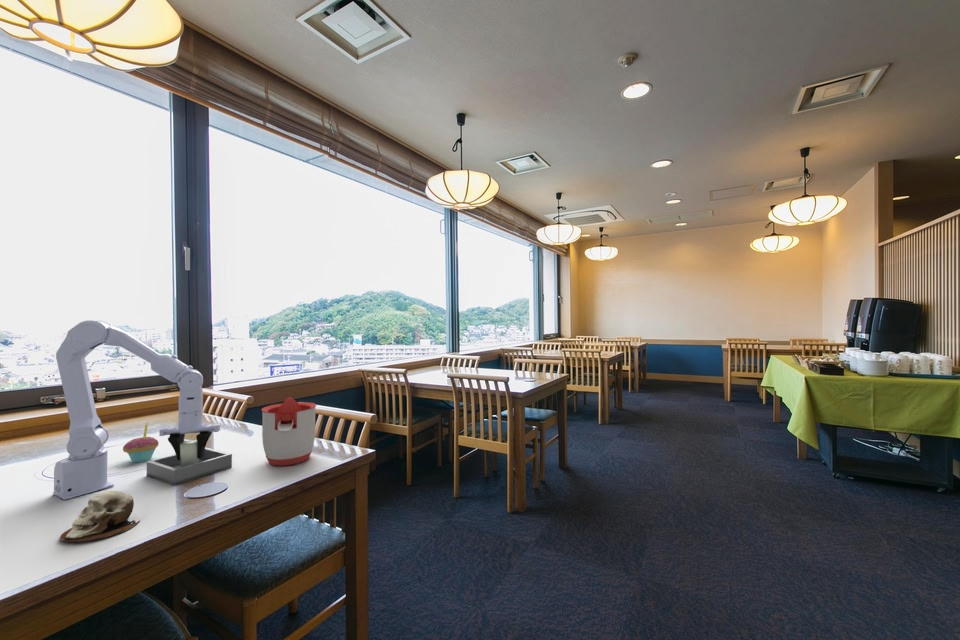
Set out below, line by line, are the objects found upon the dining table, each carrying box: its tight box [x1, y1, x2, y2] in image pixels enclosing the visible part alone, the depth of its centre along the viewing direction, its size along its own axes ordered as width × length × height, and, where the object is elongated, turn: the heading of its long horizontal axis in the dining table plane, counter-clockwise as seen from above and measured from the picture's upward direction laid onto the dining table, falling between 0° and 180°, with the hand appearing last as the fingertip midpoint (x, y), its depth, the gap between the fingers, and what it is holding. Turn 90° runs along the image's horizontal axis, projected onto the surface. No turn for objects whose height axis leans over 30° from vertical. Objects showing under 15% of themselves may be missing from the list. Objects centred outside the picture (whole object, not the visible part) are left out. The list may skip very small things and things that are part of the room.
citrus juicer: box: [261, 396, 317, 467], centre depth 122 cm, size 16×17×20 cm
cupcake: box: [122, 422, 160, 463], centre depth 124 cm, size 9×8×12 cm
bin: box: [146, 446, 233, 486], centre depth 114 cm, size 15×15×4 cm
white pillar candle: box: [180, 439, 199, 467], centre depth 113 cm, size 4×4×6 cm
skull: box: [59, 489, 141, 543], centre depth 82 cm, size 12×10×10 cm
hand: (190, 458), depth 114 cm, fingers closed on white pillar candle, 4 cm apart
